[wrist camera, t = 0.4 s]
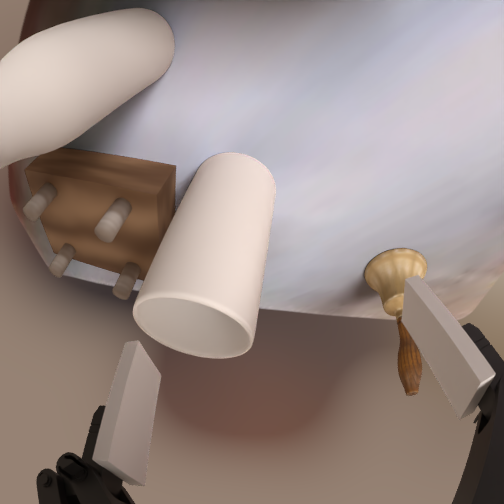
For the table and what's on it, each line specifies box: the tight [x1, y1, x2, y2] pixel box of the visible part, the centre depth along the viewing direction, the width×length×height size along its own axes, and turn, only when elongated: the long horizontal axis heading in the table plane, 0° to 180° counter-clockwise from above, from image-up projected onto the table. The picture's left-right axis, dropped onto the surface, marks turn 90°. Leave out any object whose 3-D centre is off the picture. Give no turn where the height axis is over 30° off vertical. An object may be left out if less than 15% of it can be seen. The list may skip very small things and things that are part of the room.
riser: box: [23, 148, 176, 300], centre depth 31 cm, size 14×17×9 cm
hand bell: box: [365, 248, 427, 396], centre depth 30 cm, size 8×8×16 cm
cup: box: [133, 152, 276, 358], centre depth 25 cm, size 8×8×16 cm
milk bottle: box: [0, 8, 175, 169], centre depth 13 cm, size 8×8×20 cm
